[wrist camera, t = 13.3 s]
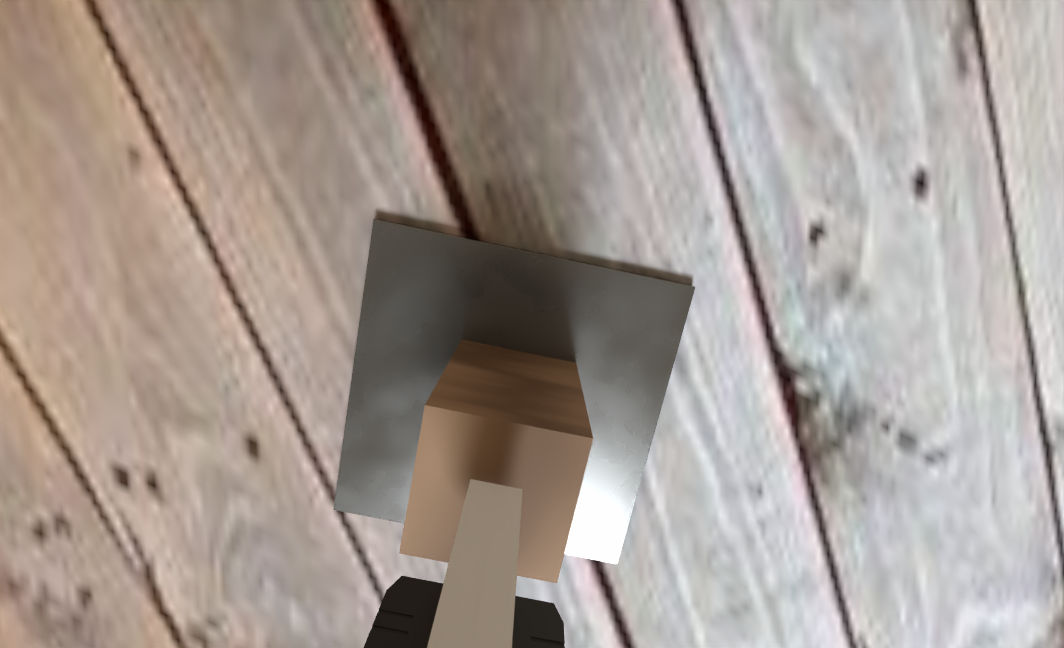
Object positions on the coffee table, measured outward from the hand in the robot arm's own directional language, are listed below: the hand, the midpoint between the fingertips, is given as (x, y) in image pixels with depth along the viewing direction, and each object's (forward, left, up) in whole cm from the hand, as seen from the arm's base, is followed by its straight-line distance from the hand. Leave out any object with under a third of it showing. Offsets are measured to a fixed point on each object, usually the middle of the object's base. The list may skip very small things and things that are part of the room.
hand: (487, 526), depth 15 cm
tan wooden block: (0, 0, -9) cm, 9 cm away
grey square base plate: (0, 0, -10) cm, 10 cm away
